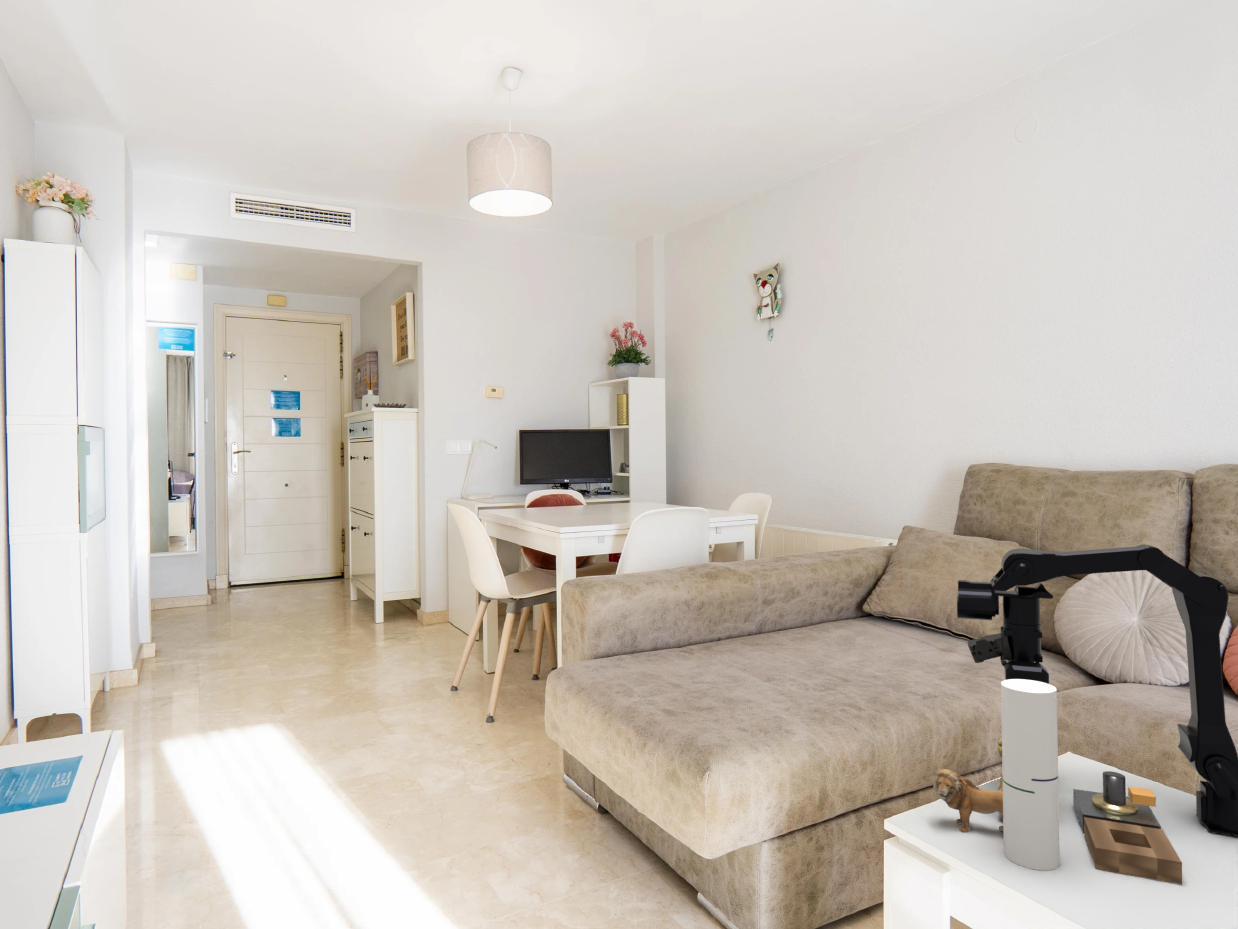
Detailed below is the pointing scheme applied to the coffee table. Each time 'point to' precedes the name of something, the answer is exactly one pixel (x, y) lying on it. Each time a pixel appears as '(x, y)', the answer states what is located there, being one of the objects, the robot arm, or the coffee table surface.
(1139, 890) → the coffee table surface
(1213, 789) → the robot arm
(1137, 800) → the cardboard box
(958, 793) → the lion figurine
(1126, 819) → the socket block
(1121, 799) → the dark flanged cylinder
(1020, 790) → the cylindrical container
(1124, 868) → the rack block
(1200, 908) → the coffee table surface
